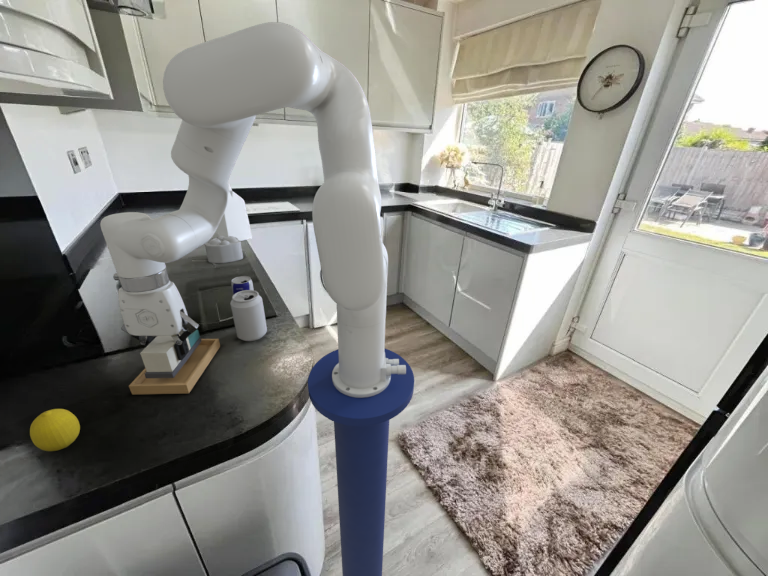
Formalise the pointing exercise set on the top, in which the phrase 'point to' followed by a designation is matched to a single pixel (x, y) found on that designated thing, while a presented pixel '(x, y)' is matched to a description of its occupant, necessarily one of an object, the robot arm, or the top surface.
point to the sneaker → (166, 356)
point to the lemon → (54, 429)
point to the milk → (235, 218)
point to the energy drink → (241, 284)
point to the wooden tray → (179, 373)
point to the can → (248, 315)
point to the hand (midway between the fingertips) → (169, 355)
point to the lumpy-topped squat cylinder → (223, 249)
